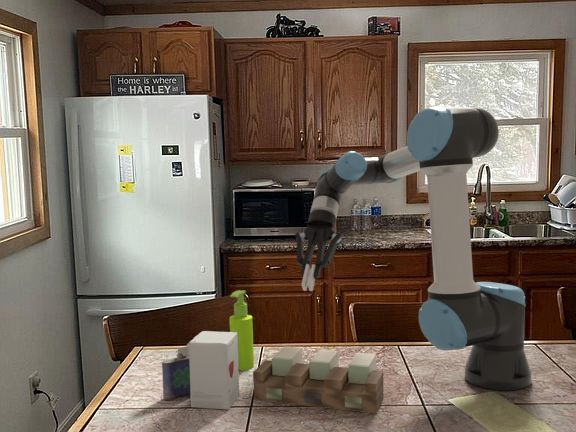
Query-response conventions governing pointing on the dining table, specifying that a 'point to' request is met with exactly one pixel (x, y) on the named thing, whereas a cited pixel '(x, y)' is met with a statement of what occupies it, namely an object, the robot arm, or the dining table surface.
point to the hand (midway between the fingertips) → (306, 288)
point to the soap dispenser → (242, 331)
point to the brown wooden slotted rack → (318, 388)
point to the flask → (176, 377)
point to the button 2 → (361, 367)
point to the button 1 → (286, 360)
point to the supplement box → (214, 370)
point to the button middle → (323, 363)
